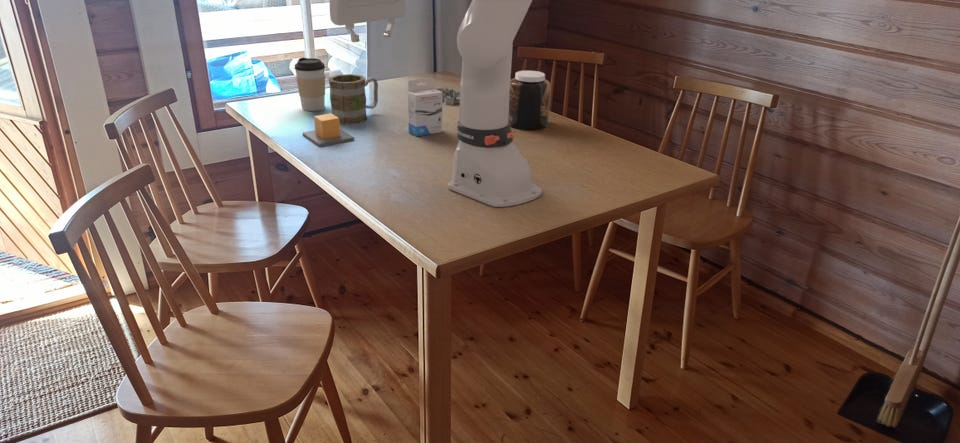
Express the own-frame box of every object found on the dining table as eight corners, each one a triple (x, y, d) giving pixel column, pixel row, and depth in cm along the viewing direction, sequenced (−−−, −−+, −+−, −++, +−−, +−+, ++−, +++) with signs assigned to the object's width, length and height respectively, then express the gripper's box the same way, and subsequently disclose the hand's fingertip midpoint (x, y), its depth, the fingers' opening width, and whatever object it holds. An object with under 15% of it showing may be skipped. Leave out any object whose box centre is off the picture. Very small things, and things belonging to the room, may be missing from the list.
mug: (342, 126, 193) (339, 85, 187) (323, 117, 200) (320, 77, 195) (388, 116, 202) (387, 77, 197) (368, 108, 209) (366, 70, 204)
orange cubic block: (340, 135, 183) (339, 118, 181) (323, 139, 180) (321, 121, 178) (332, 130, 186) (331, 113, 184) (315, 133, 184) (314, 116, 181)
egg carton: (467, 104, 217) (467, 91, 215) (445, 106, 214) (445, 94, 212) (453, 95, 226) (453, 83, 224) (432, 98, 223) (432, 85, 221)
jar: (518, 132, 191) (521, 80, 185) (500, 120, 201) (502, 70, 194) (554, 128, 196) (558, 76, 189) (535, 116, 205) (538, 67, 199)
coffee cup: (334, 107, 210) (330, 58, 203) (313, 113, 203) (308, 64, 197) (313, 102, 214) (309, 54, 208) (292, 108, 207) (287, 59, 201)
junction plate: (354, 140, 182) (353, 124, 180) (319, 146, 177) (318, 131, 175) (336, 129, 190) (335, 114, 188) (302, 135, 185) (301, 120, 183)
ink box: (416, 137, 186) (415, 84, 179) (408, 132, 189) (406, 80, 183) (443, 132, 190) (443, 80, 184) (434, 127, 194) (433, 76, 187)
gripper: (396, -23, 174) (400, 32, 180) (323, -16, 163) (330, 42, 169) (409, -21, 169) (413, 35, 175) (335, -14, 158) (342, 46, 164)
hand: (372, 39), depth 172 cm, fingers open, 8 cm apart
